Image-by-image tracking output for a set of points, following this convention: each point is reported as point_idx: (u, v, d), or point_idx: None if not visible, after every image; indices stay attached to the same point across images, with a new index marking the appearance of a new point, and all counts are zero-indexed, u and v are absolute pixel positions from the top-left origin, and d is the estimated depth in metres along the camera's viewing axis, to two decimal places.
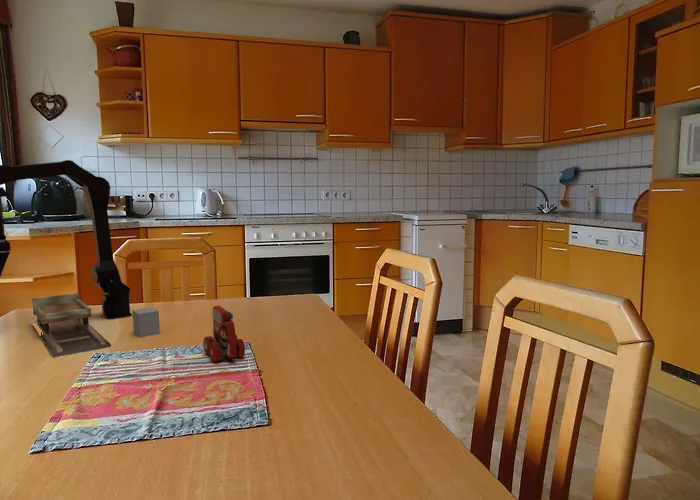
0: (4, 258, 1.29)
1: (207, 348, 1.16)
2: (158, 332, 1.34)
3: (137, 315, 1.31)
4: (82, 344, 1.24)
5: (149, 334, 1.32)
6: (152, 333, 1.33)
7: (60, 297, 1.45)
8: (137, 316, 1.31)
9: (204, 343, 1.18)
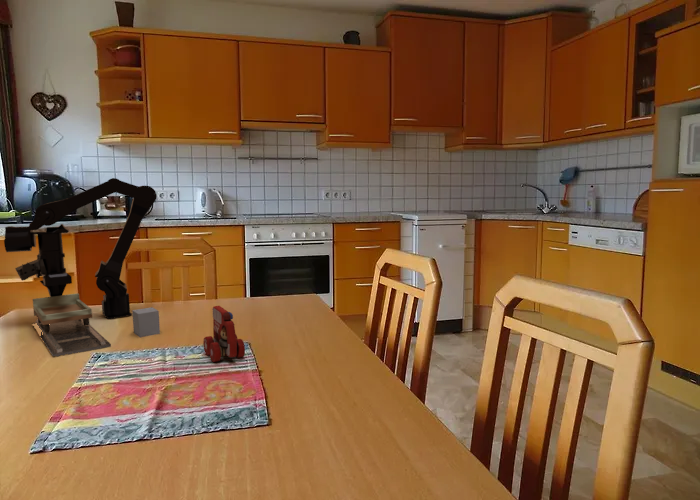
0: (62, 287, 1.45)
1: (207, 348, 1.16)
2: (158, 332, 1.34)
3: (137, 315, 1.31)
4: (82, 344, 1.24)
5: (149, 334, 1.32)
6: (152, 333, 1.33)
7: (61, 298, 1.44)
8: (137, 316, 1.31)
9: (204, 343, 1.18)
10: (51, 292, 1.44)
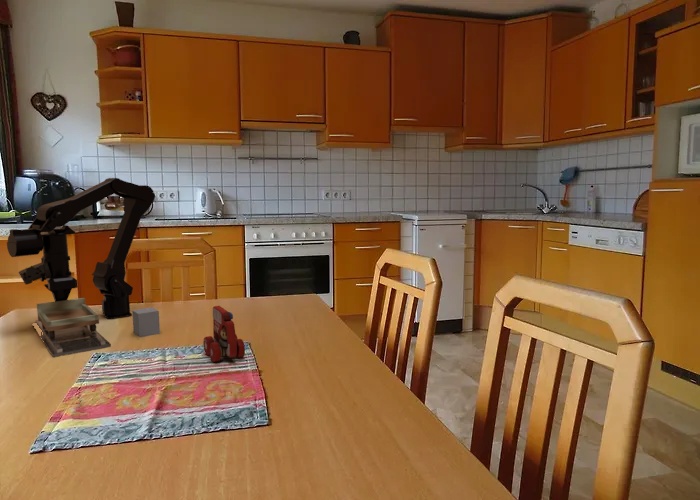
0: (68, 291, 1.39)
1: (207, 348, 1.16)
2: (158, 332, 1.34)
3: (137, 315, 1.31)
4: (82, 344, 1.24)
5: (149, 334, 1.32)
6: (152, 333, 1.33)
7: (66, 302, 1.38)
8: (137, 316, 1.31)
9: (204, 343, 1.18)
10: (56, 296, 1.38)
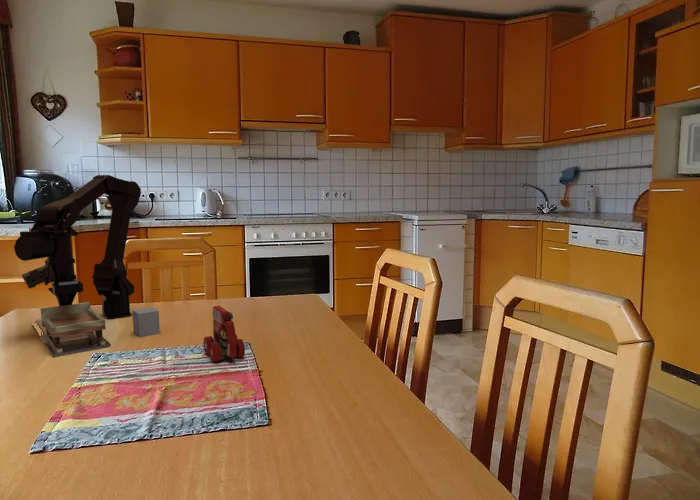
0: (72, 295, 1.34)
1: (207, 348, 1.16)
2: (158, 332, 1.34)
3: (137, 315, 1.31)
4: (82, 344, 1.24)
5: (149, 334, 1.32)
6: (152, 333, 1.33)
7: (71, 307, 1.33)
8: (137, 316, 1.31)
9: (204, 343, 1.18)
10: (60, 301, 1.33)
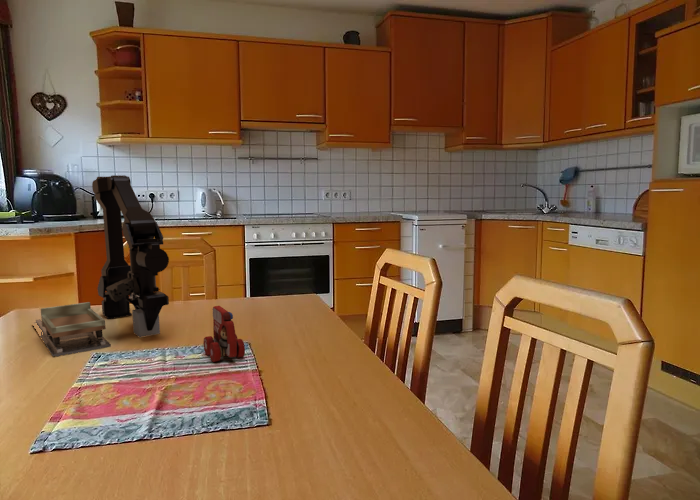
0: (158, 310, 1.31)
1: (207, 348, 1.16)
2: (158, 332, 1.34)
3: (137, 315, 1.31)
4: (82, 344, 1.24)
5: (149, 334, 1.32)
6: (152, 333, 1.33)
7: (71, 307, 1.33)
8: (137, 316, 1.31)
9: (204, 343, 1.18)
10: (146, 315, 1.30)
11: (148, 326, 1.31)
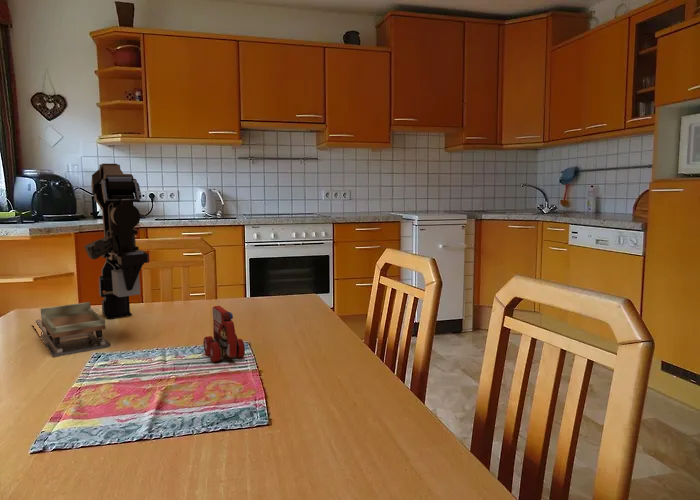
0: (138, 269, 1.28)
1: (207, 348, 1.16)
2: (138, 292, 1.31)
3: (116, 274, 1.28)
4: (82, 344, 1.24)
5: (129, 294, 1.29)
6: (132, 293, 1.30)
7: (71, 307, 1.33)
8: (116, 275, 1.28)
9: (204, 343, 1.18)
10: (126, 274, 1.27)
11: (128, 286, 1.28)
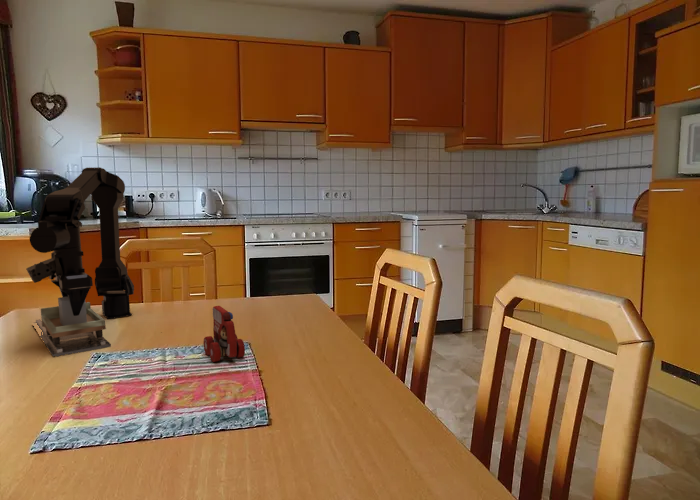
0: (84, 293, 1.22)
1: (207, 348, 1.16)
2: (85, 321, 1.26)
3: (61, 303, 1.23)
4: (82, 344, 1.24)
5: (74, 323, 1.25)
6: (78, 322, 1.25)
7: None
8: (61, 304, 1.23)
9: (204, 343, 1.18)
10: (71, 299, 1.21)
11: (74, 311, 1.22)
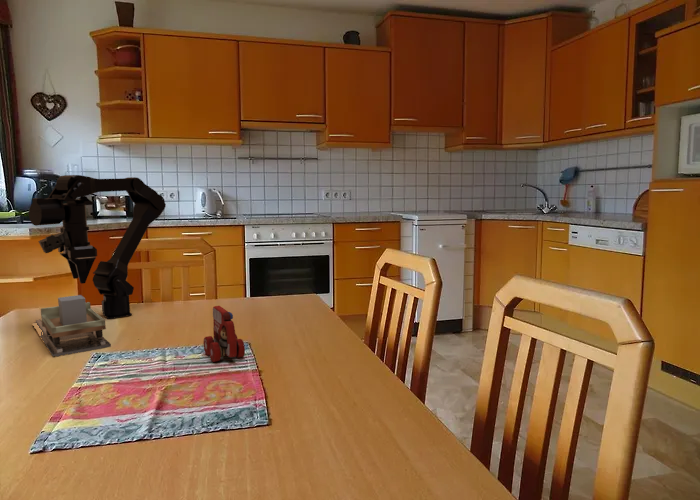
0: (90, 263, 1.37)
1: (207, 348, 1.16)
2: (85, 321, 1.26)
3: (61, 303, 1.23)
4: (82, 344, 1.24)
5: (74, 323, 1.25)
6: (78, 322, 1.25)
7: None
8: (61, 304, 1.23)
9: (204, 343, 1.18)
10: (78, 268, 1.36)
11: (81, 279, 1.38)
